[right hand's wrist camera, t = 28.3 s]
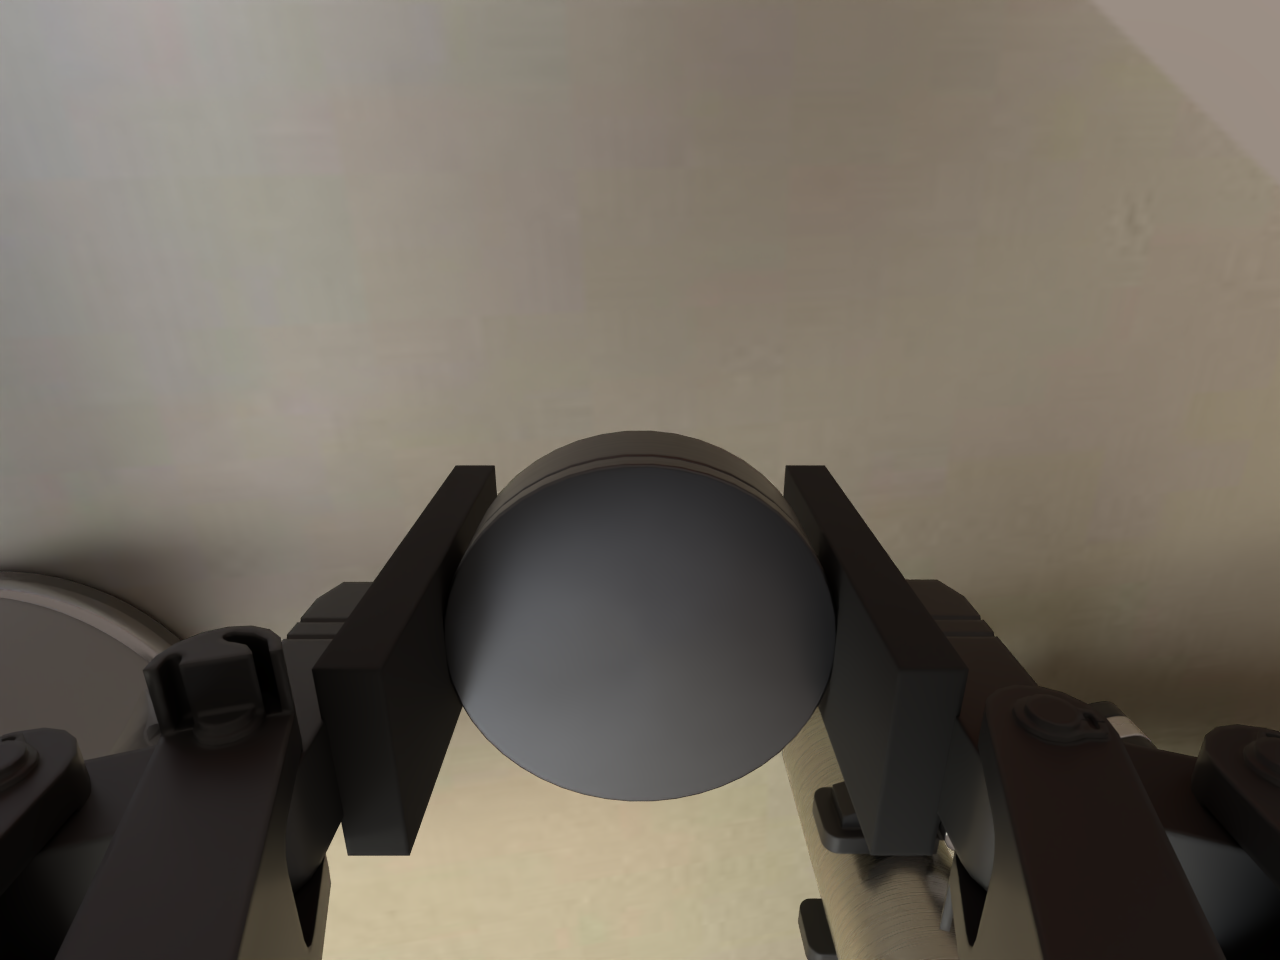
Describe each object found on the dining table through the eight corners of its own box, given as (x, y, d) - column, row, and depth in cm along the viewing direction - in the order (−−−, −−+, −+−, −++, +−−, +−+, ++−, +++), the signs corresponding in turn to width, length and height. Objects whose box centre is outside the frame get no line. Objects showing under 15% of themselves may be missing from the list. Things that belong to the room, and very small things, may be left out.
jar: (779, 789, 33) (907, 1295, 17) (784, 702, 31) (929, 1180, 16) (885, 786, 33) (1104, 1290, 17) (895, 699, 31) (1148, 1174, 16)
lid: (518, 757, 13) (502, 828, 12) (421, 468, 11) (387, 509, 10) (831, 704, 13) (856, 770, 11) (789, 394, 11) (813, 425, 9)
